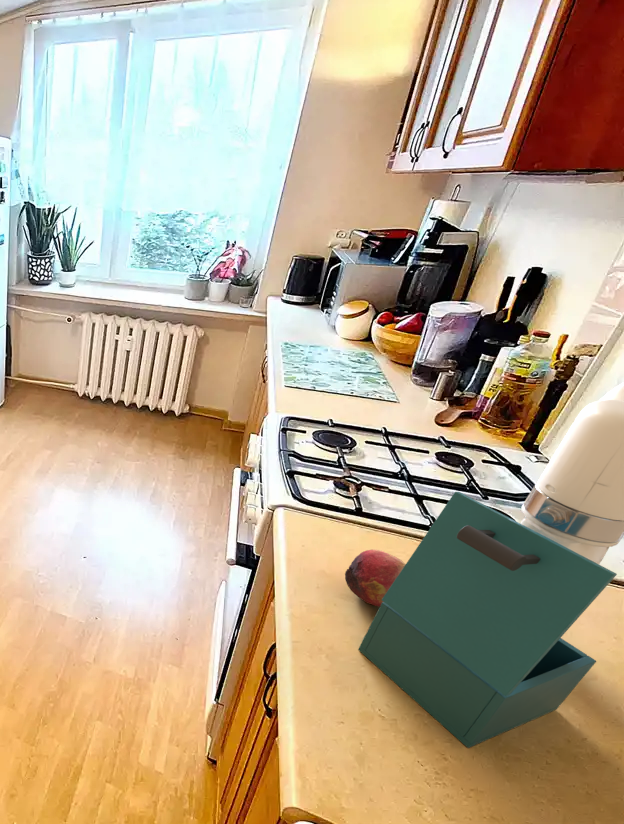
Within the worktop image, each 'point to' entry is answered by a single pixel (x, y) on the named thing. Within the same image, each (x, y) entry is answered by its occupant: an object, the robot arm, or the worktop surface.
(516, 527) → the teal box lid
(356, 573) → the fruit
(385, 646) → the teal box base
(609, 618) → the worktop surface
